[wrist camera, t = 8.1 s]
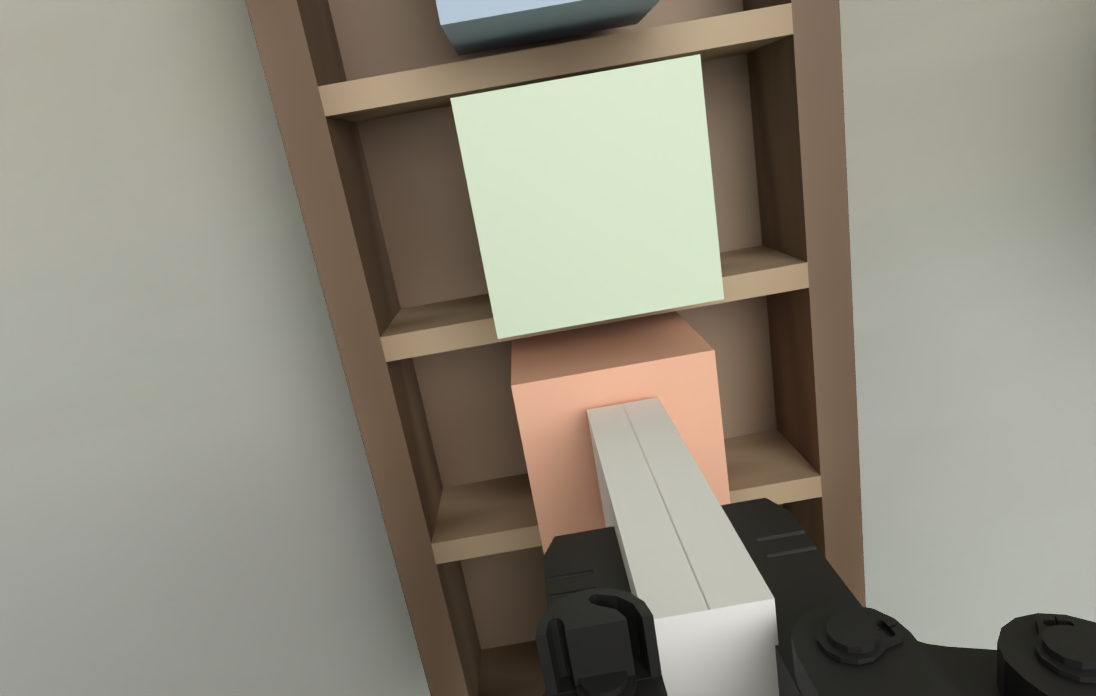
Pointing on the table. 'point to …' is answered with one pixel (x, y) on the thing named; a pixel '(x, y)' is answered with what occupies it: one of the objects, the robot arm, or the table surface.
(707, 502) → the robot arm
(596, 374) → the peach cube
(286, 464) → the table surface
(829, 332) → the wooden compartment tray
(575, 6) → the light blue cube
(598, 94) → the light green cube
